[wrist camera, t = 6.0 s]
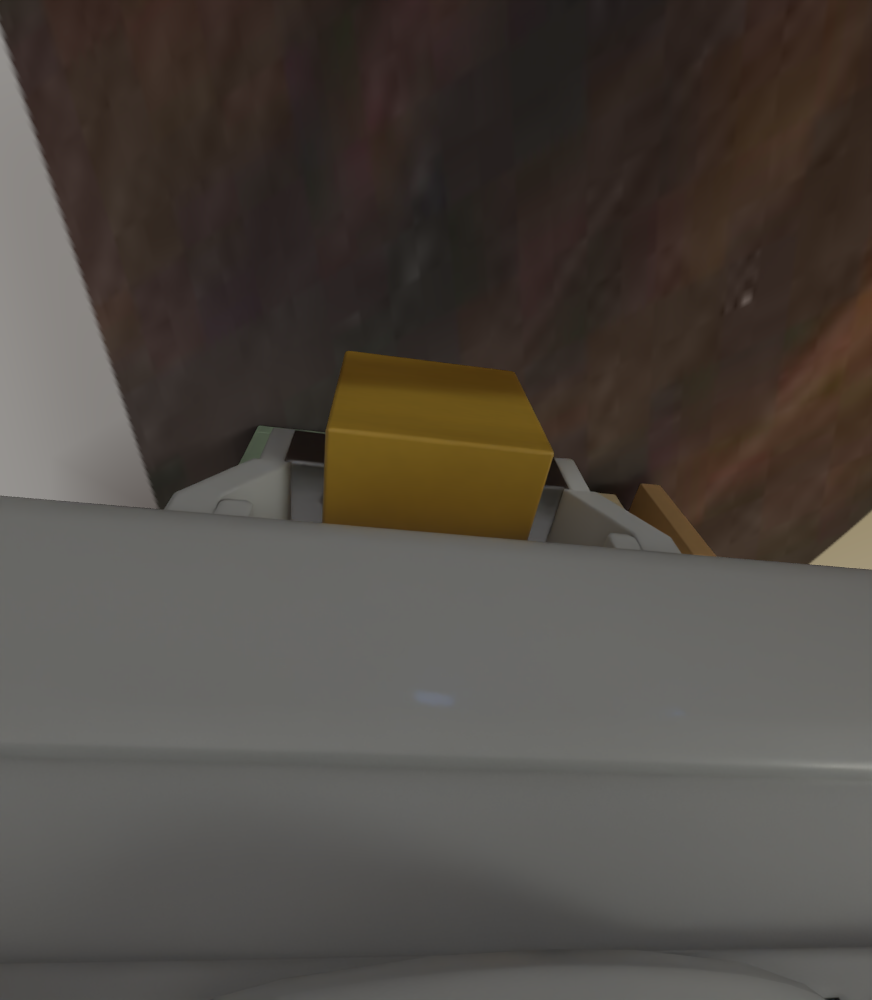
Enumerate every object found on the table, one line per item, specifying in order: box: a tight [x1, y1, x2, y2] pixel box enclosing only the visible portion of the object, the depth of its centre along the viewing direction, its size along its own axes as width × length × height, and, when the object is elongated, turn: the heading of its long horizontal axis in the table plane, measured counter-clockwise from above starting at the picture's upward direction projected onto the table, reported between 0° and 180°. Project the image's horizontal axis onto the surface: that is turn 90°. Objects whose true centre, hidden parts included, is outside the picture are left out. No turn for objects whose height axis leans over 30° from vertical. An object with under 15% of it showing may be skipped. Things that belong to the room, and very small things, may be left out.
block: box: [322, 351, 554, 541], centre depth 13 cm, size 4×4×4 cm
